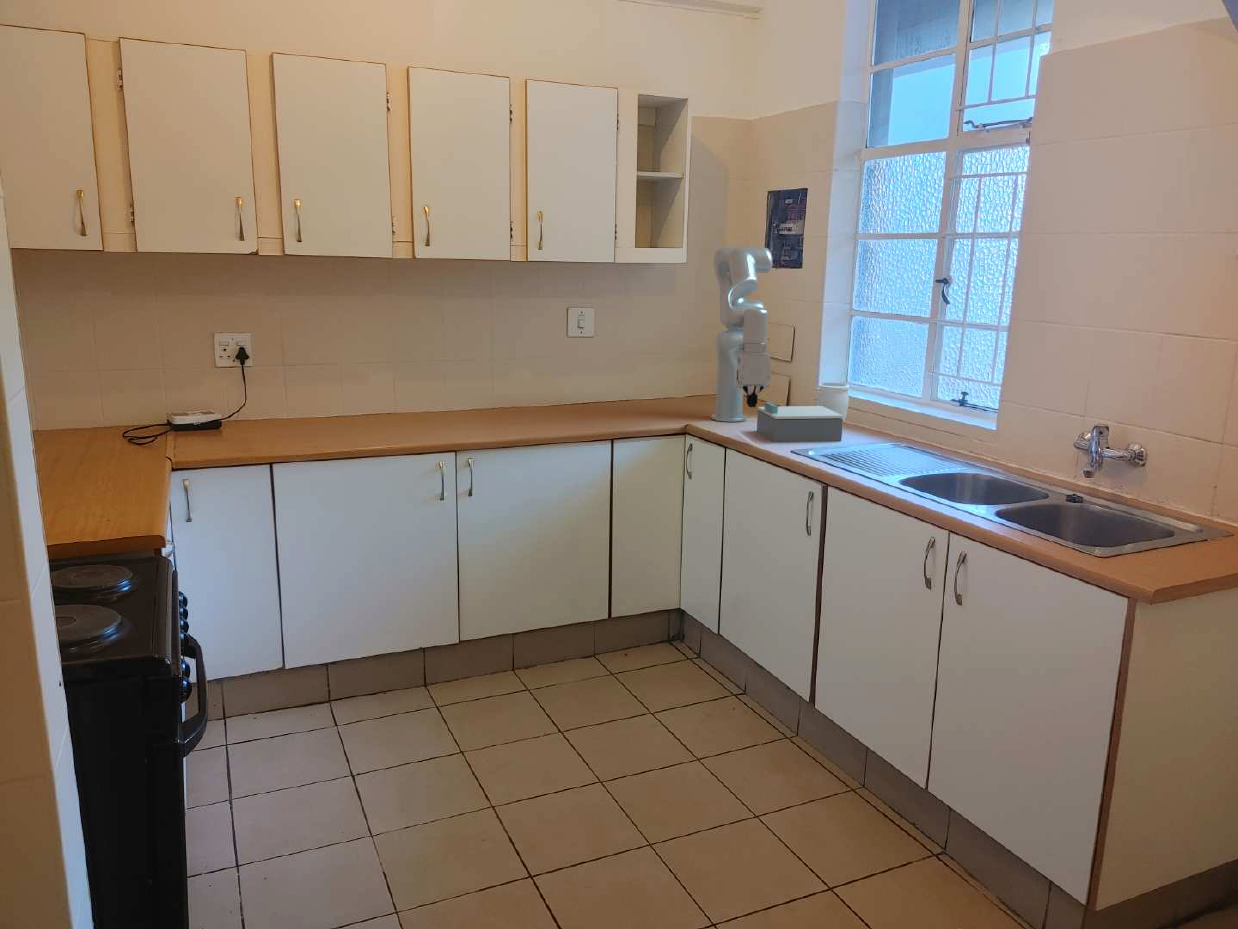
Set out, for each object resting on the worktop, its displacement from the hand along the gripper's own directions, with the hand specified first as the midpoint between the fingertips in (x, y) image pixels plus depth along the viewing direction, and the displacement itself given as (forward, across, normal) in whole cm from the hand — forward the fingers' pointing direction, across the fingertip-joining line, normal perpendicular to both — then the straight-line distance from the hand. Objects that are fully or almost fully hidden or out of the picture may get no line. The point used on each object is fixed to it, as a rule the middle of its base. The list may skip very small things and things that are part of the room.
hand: (751, 406), depth 290 cm
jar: (+11, +34, +18) cm, 40 cm away
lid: (+3, +16, 0) cm, 16 cm away
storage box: (+11, +16, 0) cm, 19 cm away
